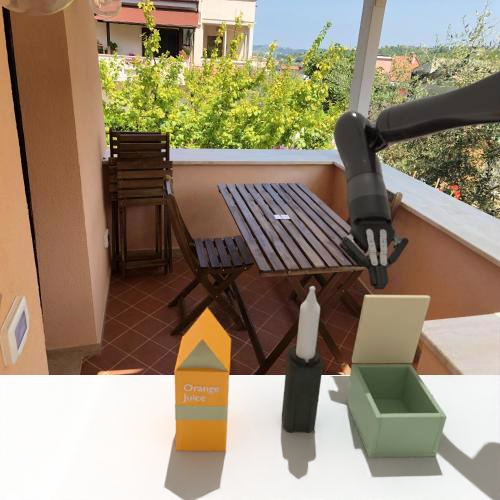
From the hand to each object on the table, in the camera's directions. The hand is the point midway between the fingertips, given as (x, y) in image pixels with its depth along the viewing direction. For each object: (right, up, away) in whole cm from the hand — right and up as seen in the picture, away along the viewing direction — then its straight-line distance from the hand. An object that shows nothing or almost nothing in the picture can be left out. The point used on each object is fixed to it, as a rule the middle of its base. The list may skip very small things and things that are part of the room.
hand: (380, 288), depth 75 cm
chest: (0, -23, -4) cm, 23 cm away
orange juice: (-30, -22, -7) cm, 38 cm away
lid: (0, -7, -5) cm, 8 cm away
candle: (-15, -22, -4) cm, 27 cm away
